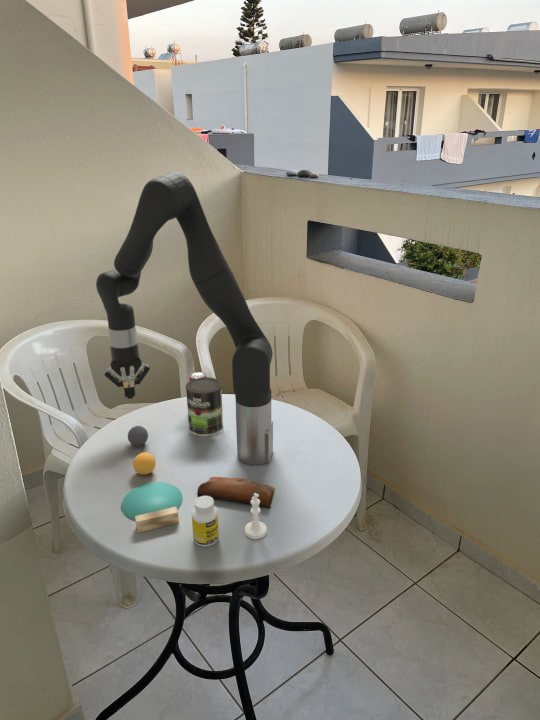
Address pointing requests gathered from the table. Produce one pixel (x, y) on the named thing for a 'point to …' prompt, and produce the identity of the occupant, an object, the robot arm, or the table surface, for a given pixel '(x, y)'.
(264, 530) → the chess piece
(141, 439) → the gray ball
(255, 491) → the sunglasses case
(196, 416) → the coffee can
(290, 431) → the table surface
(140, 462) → the object ball
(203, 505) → the supplement bottle
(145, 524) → the strip
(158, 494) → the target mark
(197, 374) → the beverage can
